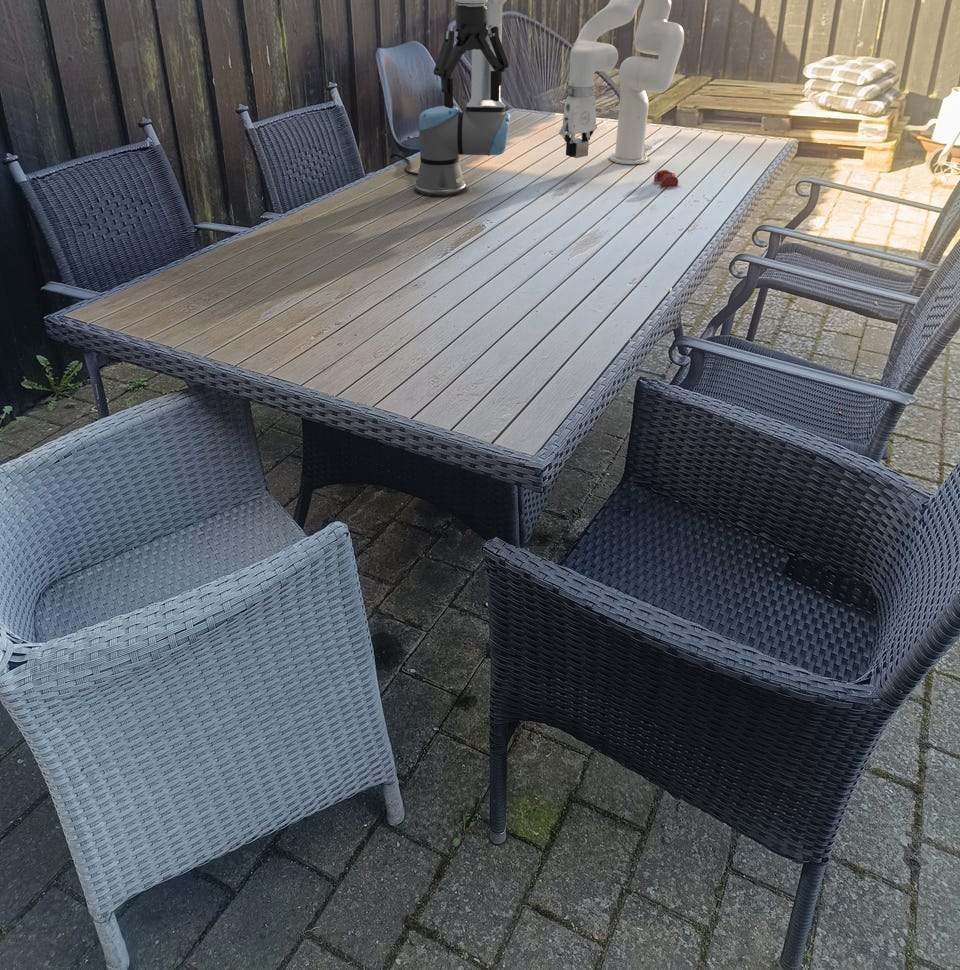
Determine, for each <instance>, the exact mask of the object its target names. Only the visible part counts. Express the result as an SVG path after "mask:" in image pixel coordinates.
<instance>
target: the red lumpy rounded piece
mask: <svg viewBox="0 0 960 970" xmlns="http://www.w3.org/2000/svg"><path fill="white" fill-rule="evenodd" d="M653 182H654V183H659V186H660V188H669V187H671V188H672V187H678V186H679V179H678V177H677V174H676V173H674V172H670V171H669V170H668V169H661V170H659V171H657V172H656V173H655V175H654V178H653Z"/></svg>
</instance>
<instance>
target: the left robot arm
mask: <svg viewBox="0 0 960 970" xmlns="http://www.w3.org/2000/svg"><path fill="white" fill-rule="evenodd" d="M507 1H508V0H454V2H455V3H456V4H457V5H455V8H454V11H455V12H454V13H455V14H454V15H455V19H454V20H455V24H456V28H455V30H450V29H445V30H444V33H443V42H442V45H441V48H440V51H439V54H438V57H437V60H436V63H435V66H434V68H433V75H435V76H438V77H440V80H441V81H440V82H441V83H440V85H441V87H440V89H441V93H443V97H444V98H443V102H444V103H443V105H439V106H434V107H430V108H428V109H425V110H423V111H422V112H421V113H420V114H419V117H418V118H419V119H418V120H419V121H418V132H419V133H418V134H419V157H420V158H419V159H420V161H419V162H420V164H419V168H418V172H414V171H410V170H409V169H410V167H411V161H410V159H408V158H407V157H405V156H403V155H402V154H400V153H391V154H390V156H389V158H390V159H393V157H398V158H400V159H402V160H404V161H405V162H406V163H407V165H406V167H404V172H405V174H409V175H412V176H416V180H415V183H414V184H415V185H414V186H415V192H417V193H418V194H420V195H424V196H430V197H450V196H455V195H459V194H461V193H463V192H464V191H466V181H465V179H464V176H463V172H462V169H461V165H460V156H461V155H463V156H487V157H490V156H500V155H502V154H504V153H505V151H506V149H507V148H506V147H507V143H508V137H509V131H510V130H509V129H510V122H511V113H510V112H508V111H506V107H507V106H506V104H504V102H503V101H502V99H501V98H502V97H501V94H502V93H501V92H502V83H503V82H502V80H503V79H502V77H503V75H502V74H503V73H504V72H505V70H506V69H508V68H509V66H510V63H509V60H508V58H507V55H506V53H505V49H504V47H503V7H504V5H505V3H506V2H507ZM456 40H457V41H456ZM455 41H456V42H455ZM454 43H455V44H454ZM467 51H469V52H470V51H471V53H470V55H471V58H470V60H471V63H470V64H471V66H470V100H469V101H468V102H467V104H465V111H460V110H459V107H458V106H456V105H454V80H453V79H454V78H453V77H451V75H452V73H453V72H454V70H455V68H456V67H457V65H458V64H459V62H460V60H461V58H462V57H463V55H464V54H465V53H466V52H467Z"/></svg>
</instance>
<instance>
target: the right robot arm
mask: <svg viewBox="0 0 960 970" xmlns="http://www.w3.org/2000/svg"><path fill="white" fill-rule="evenodd" d="M641 2H642V0H609V1H608V4H607V5H605V7H604V8H602V9H601V10H599V11H598V12H597V13H595V14H594V15H593V16H592V17H591V18H590V19H588V20H587V21H586V23H585V24H584V25H583V26H582V28H581V30H580V31H579V33H578V36H577V37H576V40H575V42H574V45H573V47H572V48H571V49H570V53H569V54H570V55H569V69H568V71H569V73H568V74H569V75H568V88H567V90H566V91H565V93H566V95H567V96H566V99H565V104H564V108H563V109H564V110H563V115H562V116H563V117H562V126H561V128H560V129H559V131H558V134H559V135H560V136H561V137H562V138H563V140H564V142H565V155H566V156H567V157H570V158H574V147H575V144H574V143H573V142H574V139H576V138H575V137H576V135H578V134H580V135H581V139H583V140H586V141H589V142H590V140H591V137H592V135H593V134H594V132H595V131H596V130H597V128H598V125H597V103H596V96H595V95H594V88H595V87H594V86H595V73H596V72H608V71H611V70H612V69H613V68H615V67H616V65H617V63H618V60H619V52H618V49H617V47H615V46H614V45H613V44H610V43H606V42H601V41H597V40H598V39H599V38H600V37H602V35H604V34H605V33H607V32H609V31H611V30H614V29H617V28H619V27H622V26H624V25H626V24H629V23H630V22H631V21H632V20H633V19H634V17H635V15H636V12H637V10H638V8H639V6H640V4H641ZM671 9H672V0H644V3H643V7H642V11H641V14H640V18H639V21H638V23H637V27H636V31H635V34H634V39H633V47H634V49H635V51H637V52H639V53H642V54H645V55H654V56H658V58H651V57H646V56H638V55H637V56H636V55H634V56H628V57H627V58H625V59H624V60H622V62H621V64H620V66H619V71H618V81H619V105H618V116H617V125H616V126H617V127H616V138H615V149H614V152H613V153H611V154H610V155H609V160H610V161H612V162H614V163H617V164H622V165H641V164H644V163H646V162H648V156H647V155H646V152H648V151H651V150H652V149H653V145H652V144H651V143H649V144H645V143H646V134H647V124H648V117H649V116H648V115H649V107H650V104H649V103H650V102H649V98H648V95H647V92H648V93H654V94H662V93H664V92H666V91H668V89H669V87H670V86H671V84H672V81H673V79H674V76H675V73H676V70H677V67H678V63H679V60H680V57H681V54H682V51H683V48H684V43H685V31H684V29H683V27H682V25H680V24H679V23H678V22H674V21H668V20H669V17H670V14H671V11H672V10H671ZM566 142H567V144H566Z"/></svg>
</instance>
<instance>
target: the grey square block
mask: <svg viewBox="0 0 960 970" xmlns="http://www.w3.org/2000/svg"><path fill="white" fill-rule="evenodd" d="M573 143H574V144H575V147H574V157H573V158H574V159H579V158H584V157H588V156H589V144H590V140H589V141H586V140H583V139H582V138H581V137H580V138H579V137H576V138H574V142H573ZM566 144H567V142H565V145H566Z"/></svg>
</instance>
